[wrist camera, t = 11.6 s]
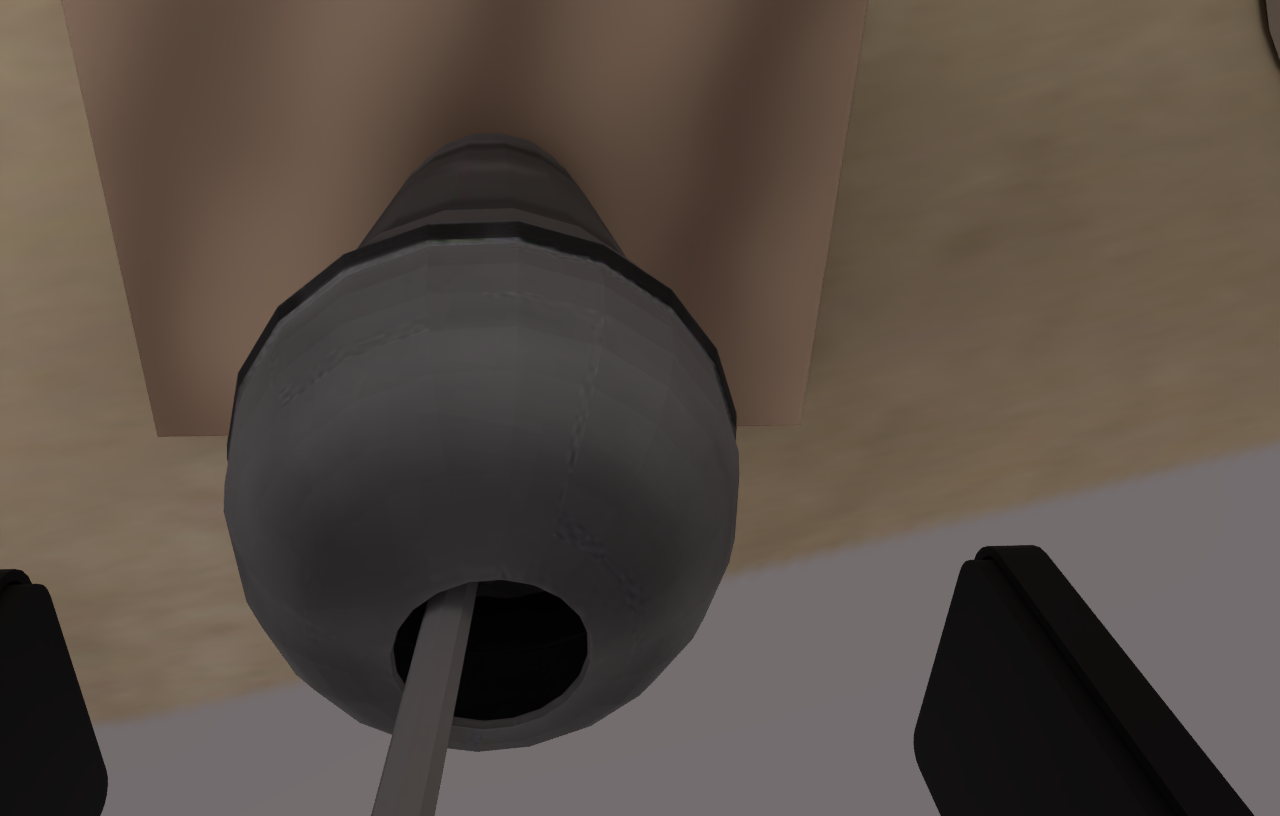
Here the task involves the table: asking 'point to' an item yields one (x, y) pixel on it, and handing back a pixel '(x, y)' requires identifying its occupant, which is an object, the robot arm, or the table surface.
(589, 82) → the serving board
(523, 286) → the beverage cup
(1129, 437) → the table surface
